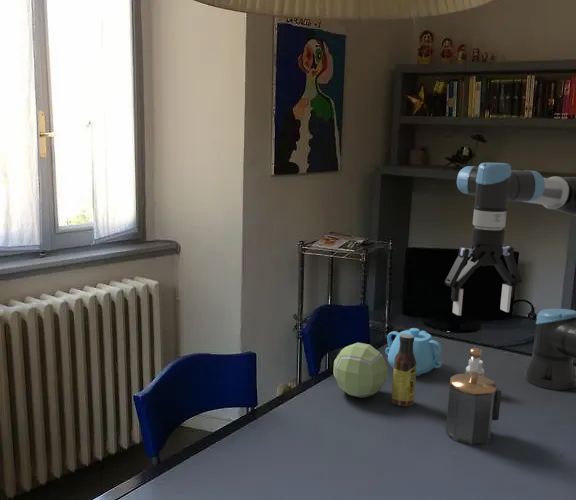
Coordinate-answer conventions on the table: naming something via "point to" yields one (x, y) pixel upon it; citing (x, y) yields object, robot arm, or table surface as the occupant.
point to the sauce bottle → (404, 373)
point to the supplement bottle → (480, 371)
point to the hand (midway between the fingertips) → (480, 312)
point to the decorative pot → (416, 350)
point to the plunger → (473, 378)
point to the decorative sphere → (360, 370)
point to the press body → (471, 416)
